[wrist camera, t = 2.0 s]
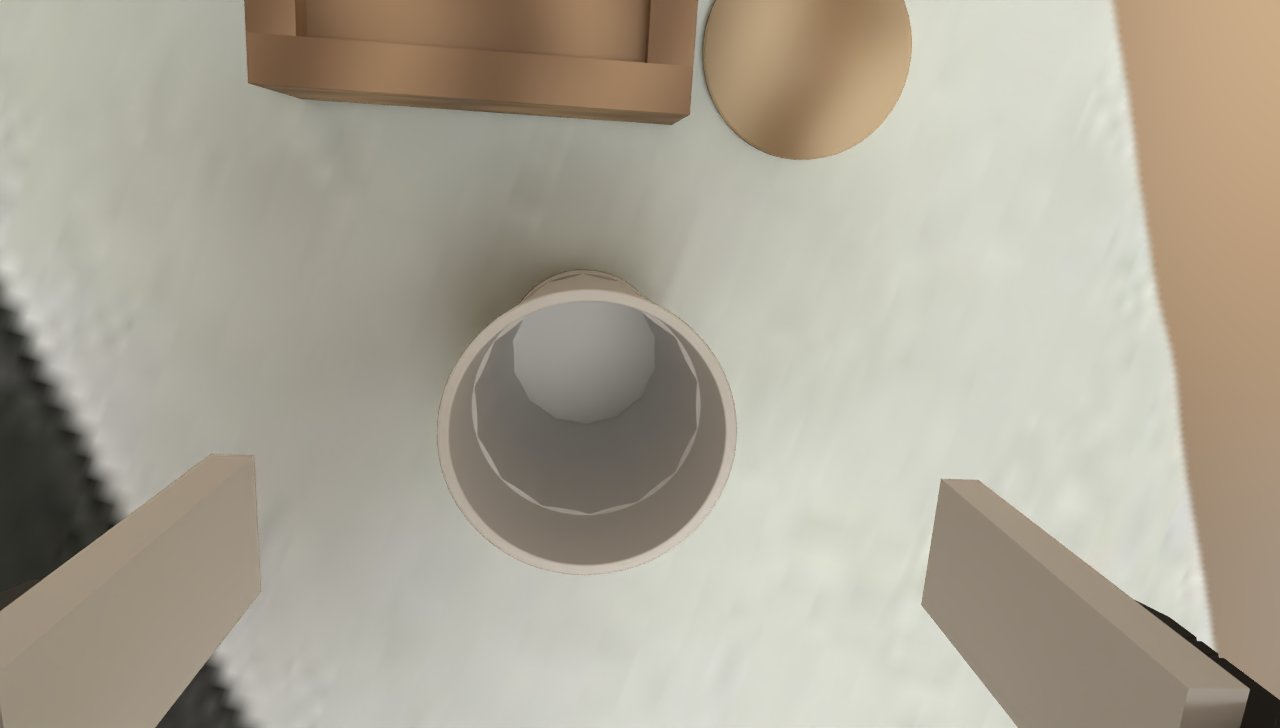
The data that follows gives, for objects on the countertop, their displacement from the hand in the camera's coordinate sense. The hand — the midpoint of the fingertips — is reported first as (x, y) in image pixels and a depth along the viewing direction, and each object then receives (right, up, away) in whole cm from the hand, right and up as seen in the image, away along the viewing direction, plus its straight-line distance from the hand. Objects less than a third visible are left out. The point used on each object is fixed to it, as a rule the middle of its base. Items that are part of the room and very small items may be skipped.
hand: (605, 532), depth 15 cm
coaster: (+7, +15, +16) cm, 23 cm away
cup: (-2, +4, +18) cm, 18 cm away
